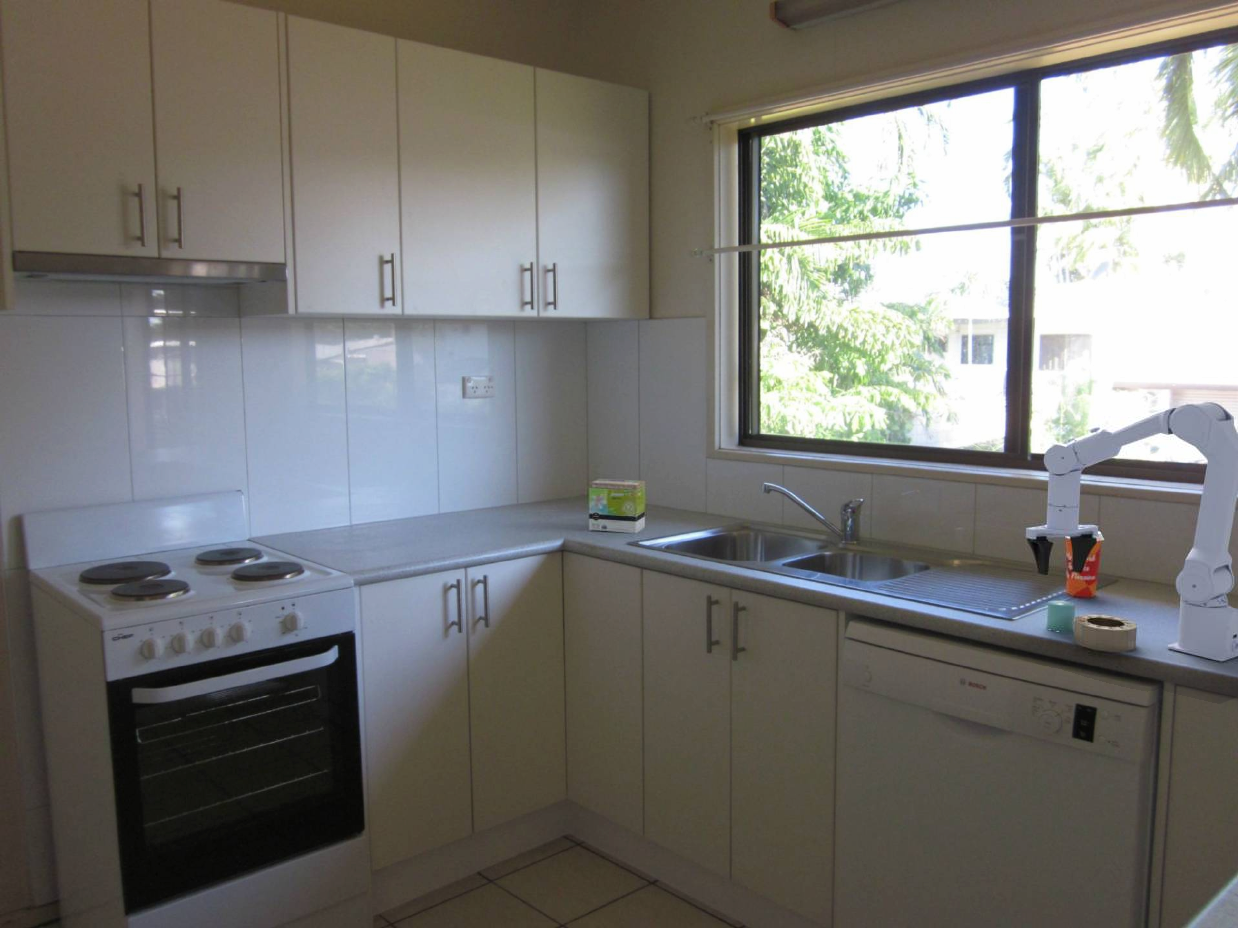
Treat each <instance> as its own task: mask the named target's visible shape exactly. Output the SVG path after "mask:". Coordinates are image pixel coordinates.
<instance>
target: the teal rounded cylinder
mask: <svg viewBox="0 0 1238 928" xmlns="http://www.w3.org/2000/svg"><path fill="white" fill-rule="evenodd" d="M1046 615H1047V616H1046V629H1047V628H1048V629H1051V630H1055V631H1059V632H1058V633H1060V632H1070V633H1074V623H1075V617H1076V604H1075V603H1073V602H1069V601H1063V600H1049V601H1048V602H1047V611H1046ZM1048 629H1047V630H1048ZM1051 630H1050V631H1051Z"/></svg>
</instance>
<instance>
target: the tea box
mask: <svg viewBox="0 0 1238 928" xmlns="http://www.w3.org/2000/svg"><path fill="white" fill-rule="evenodd" d="M645 524H646V481H645V480H635V479H634V480H633V479H632V480H631V479H617V478H616V479H615V478H614V479H613V478H597V479H596V480H593V481H592V482H588V529H589V531H602V532H603V531H605V532H612V533H614V532H615V533H628V534H637V533H639V532H640V531H642V530H643V529H644V528H645V526H646V525H645Z"/></svg>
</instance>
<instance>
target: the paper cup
mask: <svg viewBox="0 0 1238 928" xmlns="http://www.w3.org/2000/svg"><path fill="white" fill-rule="evenodd" d="M1093 537H1094V538H1097V543H1096V544H1095V546H1094V547H1093V549H1092V550H1091V552H1090V554H1089V555H1088V558H1087V560H1086V563H1085V566H1084V569H1083V572H1082V573H1077V572H1074V571H1073V568H1072V556H1073V555H1072V545H1071V540H1070V537H1065V560H1066V561H1065V562H1066V565H1065V566H1066V567H1065V568H1066V569H1065V570H1066V571H1065V572H1066V575H1065V576H1066V594H1067V593H1068V594H1070V595H1069V596H1072V597H1075V598H1076V597H1077V598H1084V599H1085V598H1090V599H1091V598H1095V596H1096V591H1097V590H1096V589H1097V585H1098V576H1099V575H1098V574H1099V568H1100V560H1101V559H1100V558H1101V551H1102V550H1101V548H1102V541H1105V538H1104V537H1103V534H1102V532H1101V531H1099V530H1098V536H1093ZM1068 594H1067V595H1068Z"/></svg>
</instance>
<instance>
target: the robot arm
mask: <svg viewBox="0 0 1238 928" xmlns="http://www.w3.org/2000/svg"><path fill="white" fill-rule="evenodd" d="M1089 431H1090V433H1087V434H1085V435H1081V436H1080V437H1078V438H1077V437H1071V438H1068V439H1067V443H1066V444H1065V443H1064V444H1061V443H1055V444H1053V445H1052V446H1051V447H1049V448H1048V449H1047V450H1046V451H1045V453H1044V456H1043V464H1044V466H1045V468H1046V470H1047V471H1048V483H1047V485H1048V487H1047V507H1046V508H1047V509H1046V524H1045V525H1040V526H1032V527H1025V538H1026V542H1027V543H1028V545H1029V546H1030V548H1031V551H1032V553H1033V556H1034V559H1035V562H1036V567H1037V572H1038V574H1040V575H1043V576H1048V573H1049V569H1050V556H1051V552H1052V548H1053V546H1054V542H1053V541H1050V540H1049V538H1066V537H1070V540H1071V545H1072V555H1073V556H1072V568H1073V571H1074V572H1077V573H1082V572H1083V569H1084V566H1085V563H1086V560H1087V558H1088V555H1089V554H1090V552H1091V550H1092V549H1093V547H1094V546H1095V544H1096V543H1097V538H1094V537H1093V536H1098V531H1099V526H1098V525H1093V524H1079V522H1080V520H1079V519H1080V500H1081V498H1080V496H1081V478H1082V472H1083V470H1084V469H1085V468H1088V467H1091V466H1093V465H1095V464H1096V465H1097V464H1098V463H1100V462H1103V461H1106V460H1109V459H1111V458H1115V457H1117V456H1118V455H1119V453H1120V451H1121V450H1122V447H1123V446H1127V445H1130V444H1132V443H1136V442H1138V441H1141V440H1144V439H1147V438H1151V437H1153V436H1156V435H1159V434H1163V435H1168V436H1169V435H1174V436H1176V437H1177V438H1178V439H1180V440H1182V441H1184V442H1185V443H1187V444H1189V445H1191V446H1193V447H1194V448H1195V449H1197V450H1198V452H1200V454H1201V455H1202V456H1203V457H1204V458H1205V459H1206V460H1207V465H1206V470H1205V474H1204V475H1205V476H1204V481H1203V488H1202V492H1201V493H1202V494H1201V498H1200V505H1199V510H1198V517H1197V523H1196V528H1195V532H1194V533H1195V534H1194V541H1193V546H1192V548H1191V550H1190V552H1189V553H1188V554H1187V556H1186V558H1185V562H1184V565H1183V568H1182V570H1181V571H1180V572H1179V574H1178V575H1177V576H1176V580H1175V589H1176V591H1177V593H1178V595H1179V596H1180V603H1179V605H1180V606H1179V619H1178V620H1179V621H1178V636H1177V642H1175V643H1170V644H1168V645H1167V646H1166V648H1167V649H1168V650H1172V651H1178V652H1181V653H1186V654H1190V655H1193V656H1197V657H1201V658H1204V659H1205V658H1206V659H1210V660H1213V661H1218V662H1225V661H1227V660H1231V659H1234V658H1236V657H1238V608H1234V607H1232V606H1230V605H1229V604H1228V603H1229V600H1228V597H1227V594H1229V593H1230V592H1231V591H1232V589H1233V588H1234V585H1235V575H1234V573H1233V570H1232V563H1233V558H1232V556H1231V554H1230V553H1229V545H1230V538H1231V533H1232V528H1233V523H1234V517H1235V511H1236V506H1237V499H1238V431H1237V428H1236V426H1235V417H1234V416H1233V415H1232V414H1231V413H1230V412H1229V411H1228V410H1227V409H1226V408H1224V406H1222V405H1221V404H1219V403H1217V402H1214V401H1213V402H1211V401H1209V402H1208V401H1207V402H1206V401H1205V402H1202V403H1196V404H1194V403H1185V404H1182V405H1180V406H1177V407H1172V408H1167V409H1164V410H1160V411H1157V412H1155V413H1153V414H1151V415H1148V416H1146V417H1143V418H1141V419H1138V420H1137V421H1134V422H1131V423H1130V424H1127V425H1125V426H1123V427H1121V428H1118V429H1116V430H1112V429H1110V428H1108V427H1102V428H1100V427H1092V428H1091V429H1090V430H1089Z"/></svg>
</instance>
